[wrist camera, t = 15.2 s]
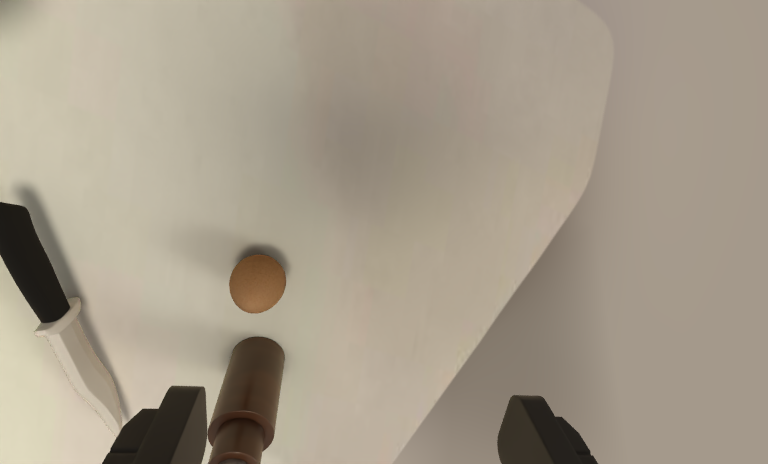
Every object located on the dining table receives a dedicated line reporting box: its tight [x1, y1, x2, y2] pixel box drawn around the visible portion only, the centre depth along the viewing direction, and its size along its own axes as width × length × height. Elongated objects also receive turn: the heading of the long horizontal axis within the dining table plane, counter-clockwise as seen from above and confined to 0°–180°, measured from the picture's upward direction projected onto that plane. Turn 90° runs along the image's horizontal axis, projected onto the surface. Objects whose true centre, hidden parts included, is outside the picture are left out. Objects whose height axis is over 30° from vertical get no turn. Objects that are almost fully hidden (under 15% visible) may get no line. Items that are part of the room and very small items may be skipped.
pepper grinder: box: [208, 337, 285, 464], centre depth 34 cm, size 5×5×14 cm
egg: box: [229, 255, 286, 313], centre depth 34 cm, size 4×4×6 cm
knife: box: [0, 202, 122, 438], centre depth 35 cm, size 25×2×5 cm, turn 4°
